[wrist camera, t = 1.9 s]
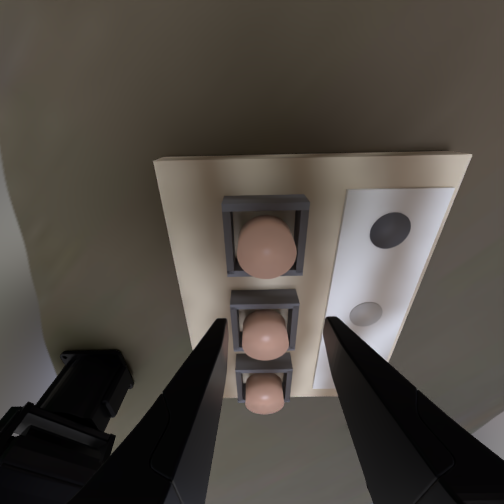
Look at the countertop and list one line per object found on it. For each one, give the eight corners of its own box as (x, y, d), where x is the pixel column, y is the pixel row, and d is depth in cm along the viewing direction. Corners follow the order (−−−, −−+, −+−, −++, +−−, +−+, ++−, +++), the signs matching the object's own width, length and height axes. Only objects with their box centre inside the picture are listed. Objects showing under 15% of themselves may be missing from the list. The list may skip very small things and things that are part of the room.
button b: (239, 263, 17) (238, 279, 15) (237, 215, 15) (235, 227, 13) (290, 262, 17) (294, 278, 15) (293, 214, 15) (298, 226, 13)
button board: (205, 381, 29) (199, 415, 26) (163, 156, 17) (141, 165, 13) (367, 379, 29) (382, 412, 26) (448, 150, 16) (499, 158, 13)
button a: (246, 393, 25) (246, 414, 23) (245, 372, 23) (244, 392, 21) (280, 393, 25) (283, 413, 23) (282, 371, 23) (285, 392, 21)
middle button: (243, 340, 21) (243, 360, 19) (241, 309, 19) (241, 328, 17) (284, 339, 21) (287, 360, 19) (286, 308, 19) (290, 327, 17)
